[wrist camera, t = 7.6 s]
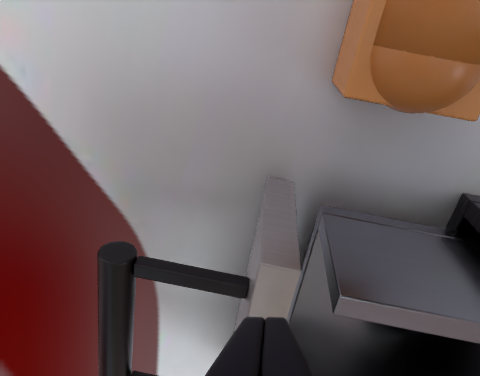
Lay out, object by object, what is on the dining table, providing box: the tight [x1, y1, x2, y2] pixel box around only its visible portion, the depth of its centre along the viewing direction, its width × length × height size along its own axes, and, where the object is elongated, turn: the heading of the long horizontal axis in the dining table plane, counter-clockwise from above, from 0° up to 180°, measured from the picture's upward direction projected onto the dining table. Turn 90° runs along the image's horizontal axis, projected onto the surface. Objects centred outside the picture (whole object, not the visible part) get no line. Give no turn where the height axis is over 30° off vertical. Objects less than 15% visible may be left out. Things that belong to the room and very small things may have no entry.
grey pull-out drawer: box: [97, 176, 480, 376], centre depth 16 cm, size 19×12×6 cm, turn 81°
